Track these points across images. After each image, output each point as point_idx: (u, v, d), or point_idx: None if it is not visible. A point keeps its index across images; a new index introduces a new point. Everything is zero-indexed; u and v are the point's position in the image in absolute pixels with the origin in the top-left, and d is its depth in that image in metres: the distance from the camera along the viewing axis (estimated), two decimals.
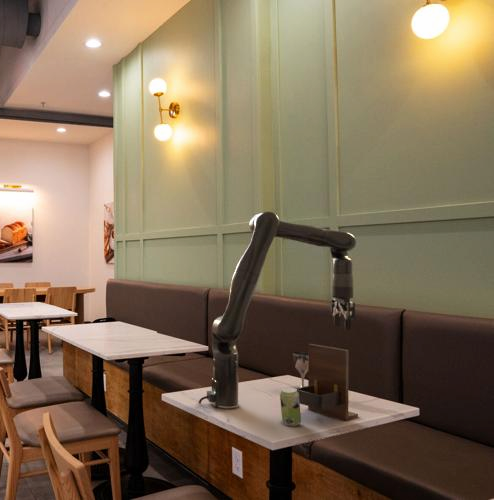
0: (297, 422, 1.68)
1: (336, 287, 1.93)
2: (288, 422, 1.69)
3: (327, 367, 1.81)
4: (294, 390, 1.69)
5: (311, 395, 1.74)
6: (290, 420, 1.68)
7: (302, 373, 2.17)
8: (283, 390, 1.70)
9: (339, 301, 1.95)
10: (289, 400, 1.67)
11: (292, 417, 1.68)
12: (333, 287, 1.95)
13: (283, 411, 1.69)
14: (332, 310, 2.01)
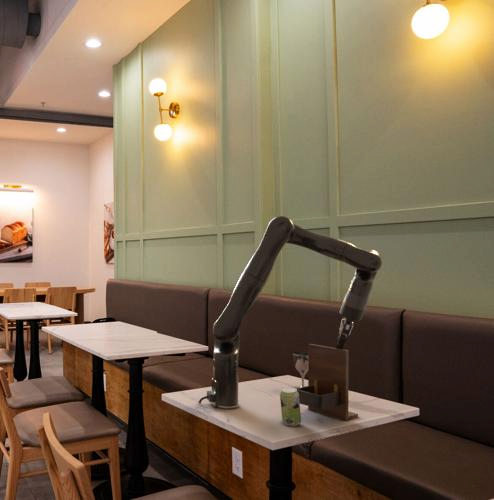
0: (297, 422, 1.68)
1: (343, 305, 1.80)
2: (288, 422, 1.69)
3: (327, 367, 1.81)
4: (294, 390, 1.69)
5: (311, 395, 1.74)
6: (290, 420, 1.68)
7: (302, 373, 2.17)
8: (283, 390, 1.70)
9: (345, 319, 1.82)
10: (289, 400, 1.67)
11: (292, 417, 1.68)
12: (342, 303, 1.81)
13: (283, 411, 1.69)
14: None
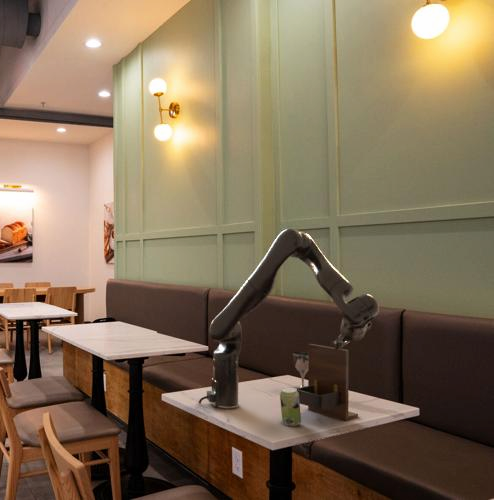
0: (297, 422, 1.68)
1: (342, 322, 1.67)
2: (288, 422, 1.69)
3: (327, 367, 1.81)
4: (294, 390, 1.69)
5: (311, 395, 1.74)
6: (290, 420, 1.68)
7: (302, 373, 2.17)
8: (283, 390, 1.70)
9: None
10: (289, 400, 1.67)
11: (292, 417, 1.68)
12: None
13: (283, 411, 1.69)
14: None
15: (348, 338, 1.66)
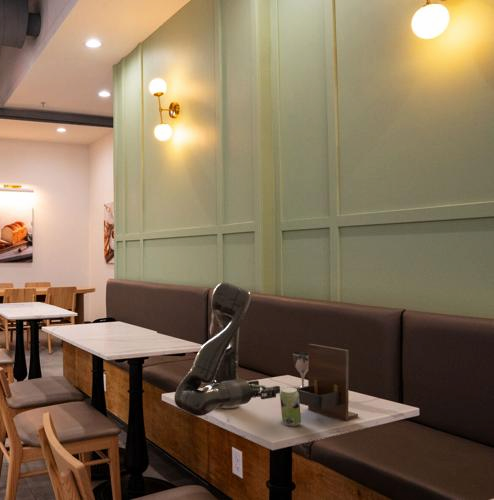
0: (297, 422, 1.68)
1: None
2: (288, 422, 1.69)
3: (327, 367, 1.81)
4: (294, 390, 1.69)
5: (311, 395, 1.74)
6: (290, 420, 1.68)
7: (302, 373, 2.17)
8: (283, 390, 1.70)
9: None
10: (289, 400, 1.67)
11: (292, 417, 1.68)
12: (233, 380, 1.56)
13: (283, 411, 1.69)
14: None
15: None
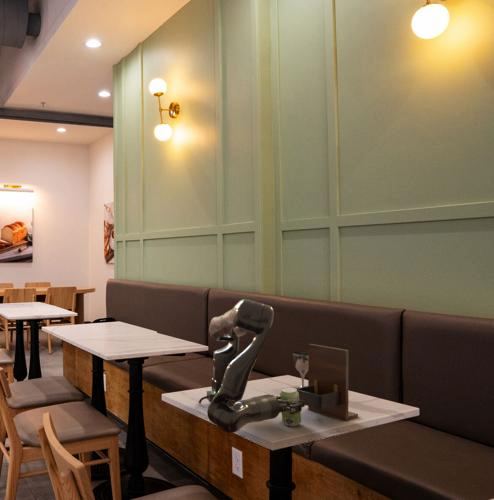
0: (297, 422, 1.68)
1: None
2: (288, 422, 1.69)
3: (327, 367, 1.81)
4: (294, 390, 1.69)
5: (311, 395, 1.74)
6: (290, 420, 1.68)
7: (302, 373, 2.17)
8: (283, 390, 1.70)
9: None
10: None
11: (292, 417, 1.68)
12: (262, 396, 1.63)
13: None
14: (296, 404, 1.64)
15: None
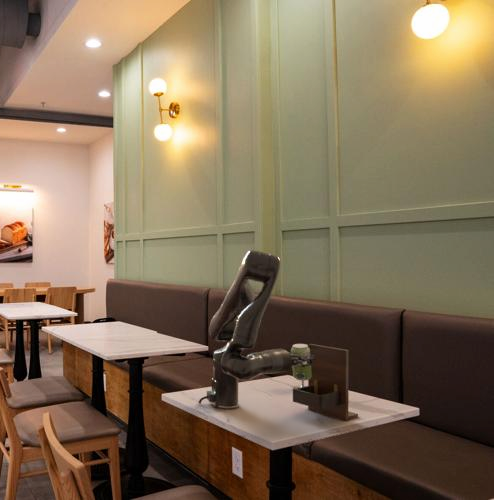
0: (308, 377, 1.71)
1: None
2: (299, 377, 1.72)
3: (327, 367, 1.81)
4: (305, 346, 1.73)
5: (311, 395, 1.74)
6: (301, 375, 1.71)
7: None
8: (294, 346, 1.74)
9: None
10: None
11: (303, 372, 1.71)
12: (274, 349, 1.67)
13: (294, 366, 1.73)
14: (307, 358, 1.68)
15: None
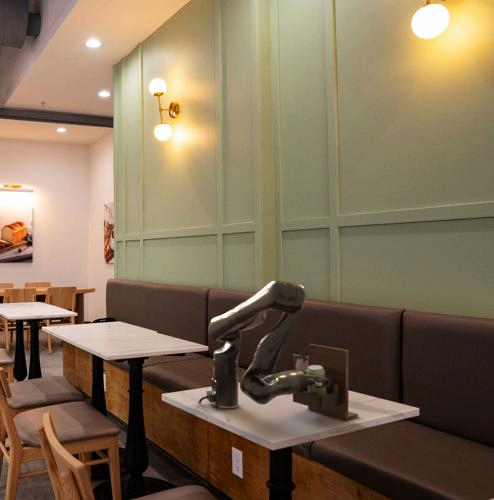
0: None
1: None
2: None
3: (327, 367, 1.81)
4: (320, 367, 1.77)
5: (311, 395, 1.74)
6: None
7: None
8: (309, 367, 1.78)
9: None
10: None
11: (319, 393, 1.75)
12: (290, 370, 1.71)
13: (310, 387, 1.77)
14: (324, 379, 1.71)
15: None
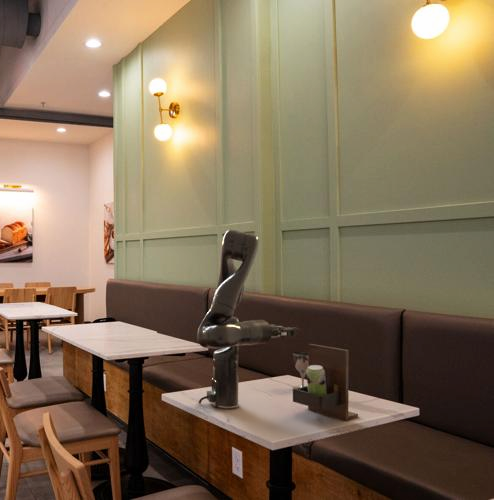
0: None
1: None
2: None
3: (327, 367, 1.81)
4: (320, 367, 1.77)
5: (311, 395, 1.74)
6: None
7: (302, 373, 2.17)
8: (309, 367, 1.78)
9: None
10: (316, 376, 1.75)
11: (319, 393, 1.75)
12: (253, 320, 1.61)
13: (310, 387, 1.77)
14: None
15: None
